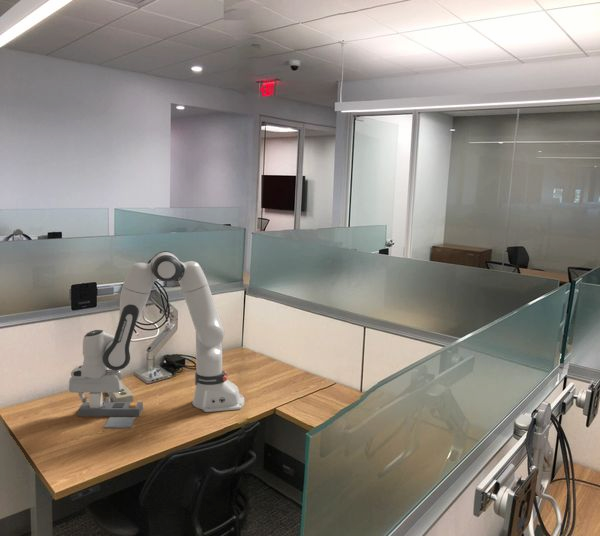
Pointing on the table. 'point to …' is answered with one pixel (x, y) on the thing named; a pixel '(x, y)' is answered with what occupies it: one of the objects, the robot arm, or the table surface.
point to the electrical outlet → (122, 395)
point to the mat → (119, 422)
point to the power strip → (112, 409)
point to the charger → (95, 400)
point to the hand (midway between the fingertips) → (96, 401)
